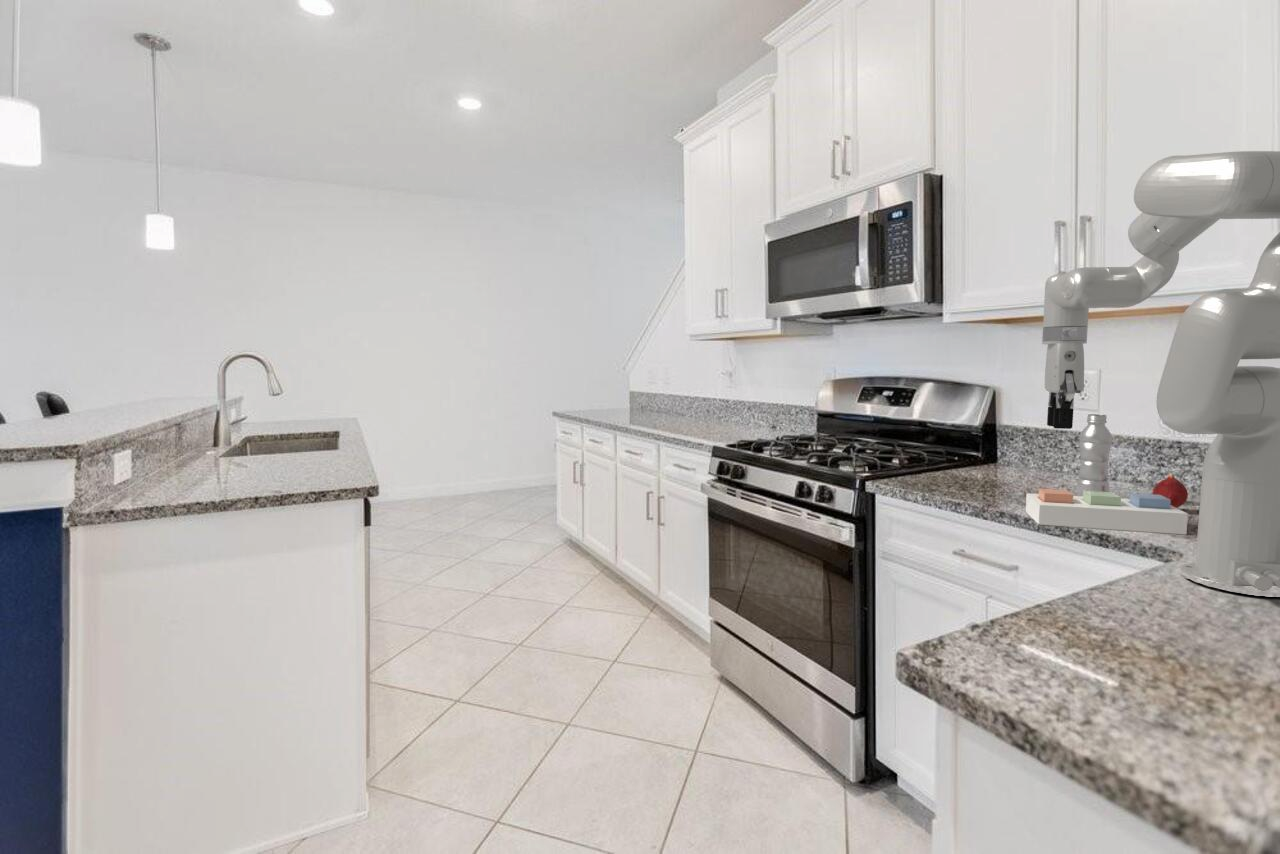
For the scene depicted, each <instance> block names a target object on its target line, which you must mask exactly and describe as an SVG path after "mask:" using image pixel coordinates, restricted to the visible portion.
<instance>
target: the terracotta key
mask: <svg viewBox="0 0 1280 854" xmlns="http://www.w3.org/2000/svg"><path fill="white" fill-rule="evenodd" d="M1037 494H1038V498H1039V499H1040V500H1041V501H1042V502H1050V503H1068V504H1073V496H1074V494H1073V493H1072V492H1070V491H1069V490H1067V489H1053V488H1052V489H1051V488H1038V493H1037Z"/></svg>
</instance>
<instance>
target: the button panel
mask: <svg viewBox="0 0 1280 854" xmlns="http://www.w3.org/2000/svg"><path fill="white" fill-rule="evenodd" d="M1038 494H1039V493H1027V492H1026V497H1025V498H1026V499H1025V513H1027V514H1028V516H1029V517H1030V518H1031V519H1033V521H1035V523H1037V525H1042V526H1055V527H1056V526H1057V527H1068V528H1083V529H1084V528H1085V529H1098V530H1114V531H1126V532H1127V531H1128V532H1141V533H1142V532H1143V533H1156V534H1158V533H1159V534H1170V535H1172V534H1174V535H1187V529H1188V521H1189V520H1188V517H1189V514H1188V512H1186V511H1183V510H1182V509H1179V508H1175V507H1173V506H1171V505H1170V509H1155V508H1138V507H1136V506H1134V505H1132V504H1130V503H1129V500H1130V498H1122V497H1121V505H1120V506H1103V505H1089V504H1087V503H1086V502H1084V501H1083V496H1078V495H1073V504H1068V503H1050V502H1042V501H1041V500H1040V499H1039V498H1038Z"/></svg>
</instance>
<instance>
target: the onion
mask: <svg viewBox="0 0 1280 854" xmlns="http://www.w3.org/2000/svg"><path fill="white" fill-rule="evenodd" d="M1152 494H1154V495H1162V496H1164V497H1166V498H1168V499H1170V500H1171V504H1170V505H1171V506H1173V507H1175V508H1177V509H1179V507H1181V506H1182V505H1184V504H1185V503H1186V502H1187V499H1188V495H1189V493H1188V490H1187V488H1186V487H1185V485H1184V484H1183V483H1182V482H1181V481H1179V480H1177V478H1176V477H1175V475H1174V474H1171V473H1169V474H1168V475H1167V478H1164V479H1162V480H1161V481H1159V482H1157V483H1156V484H1155V486H1154V487H1153V490H1152Z"/></svg>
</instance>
